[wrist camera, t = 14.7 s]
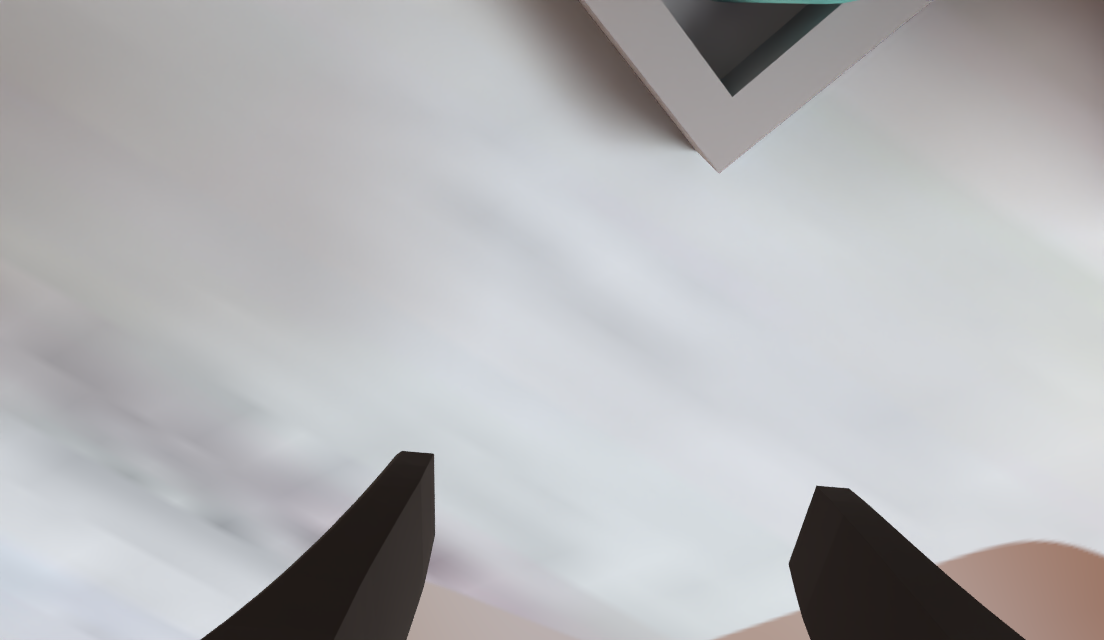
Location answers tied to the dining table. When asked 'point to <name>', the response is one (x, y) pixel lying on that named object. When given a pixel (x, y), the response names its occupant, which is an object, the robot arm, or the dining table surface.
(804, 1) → the dowel
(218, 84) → the dining table surface
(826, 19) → the socket block
